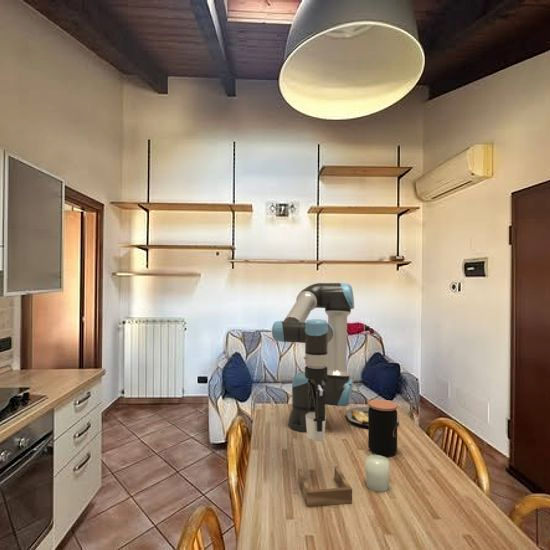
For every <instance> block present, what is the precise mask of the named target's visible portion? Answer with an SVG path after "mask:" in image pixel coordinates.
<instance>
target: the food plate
mask: <svg viewBox="0 0 550 550" xmlns="http://www.w3.org/2000/svg"><path fill="white" fill-rule="evenodd" d="M369 407H370V406H363V407H362V406H360V407H359V406H358V407H352V408H349V409H347V410H346V411H345V412H344V413H345V415H346V417H347V419H348V420H349V422H351V423H354V424H357V425H361V426H365V427H368V415H366V414H368V410H369ZM399 422H400V419H399V417H397V425H398V424H399Z"/></svg>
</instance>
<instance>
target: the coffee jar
mask: <svg viewBox="0 0 550 550" xmlns="http://www.w3.org/2000/svg"><path fill="white" fill-rule="evenodd" d="M368 407H369V410H368V413H367V417H368V426H367V427H368V431H367V432H368V433H367V435H368V437H367V441H368V449H369V451H370V452H371V453H372V454H373V455H380V456H383V457H385V458H388V457H393V456H395V455H396V453H397V452H398V424H397V418H398V404H397V403H396V402H394V401H392V400H387V399H372V400H369V401H368Z"/></svg>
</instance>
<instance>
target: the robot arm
mask: <svg viewBox="0 0 550 550" xmlns="http://www.w3.org/2000/svg"><path fill="white" fill-rule="evenodd" d="M295 300H296V301H295V303H294V304H293V306H292V308H291V309H290V310H289V311H288V313H287V315H286V316H285V317H284V319H283V320H276V321H274V322H273V324H272V326H271V327H272V328H271V334H272V335H271V336H272V339H273V340H274V341H276V342H282V343H300V344H301V343H302V344H304V346H305V347H304V349H305V350H304V355H305V356H303V359H304V365H305V366H304V372H299V373H296V374H294V375H293V377H292V385H291V390H292V391H291V392H292V393H291V399H292V400H291V402H292V404H291V405H292V407H291V410H290V413H289V416H288V420H287V424H288V427H289V428H290V429H291V430H294V431H296V432H303V433H307V428H306V414H307V413H310V412H315V419H313V421H314V440H313V441H314V442H323V441H324V438H323V421H325V415H326V406H335V407H345V408H346V407H348V406H349V404H350V403H351V399H352V395H353V393H352V392H353V388H354V386H353V385H354V380H353V379H351V378H350V374H349V373H348V372H347V350H348V349H347V346H348V345H347V342H348V341H347V339H348V335H347V334H348V317H349V315H350V314H351V312H352V311H351V310H354V309H355V298H354V292H353V288H352V285H351V284H350V283H343V282H328V283H327V282H317V283H313V284H310V285H308V286H307V287H305V288H304V289H303V288H302V290H301V291H300V292H299V293H298V294H297V296H296V299H295ZM314 309H324V312H325V314H326V315H327V320H326V319H320V318H319V319H316V318H314V319H313V318H312V319H308V317H309V315H310V313H311V311H313V310H314Z"/></svg>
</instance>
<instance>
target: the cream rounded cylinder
mask: <svg viewBox="0 0 550 550" xmlns="http://www.w3.org/2000/svg"><path fill="white" fill-rule="evenodd" d="M365 465H366V466H365V468H366V469H365V471H366V472H365V474H366V475H365V476H366V477H365V481H366V482H365V484H366V487H367V488H368V489H370V490H372V491H373V492H379V493H381V492H382V493H383V492H387V491H388V490H389V489H390V461H389V459H388V457H383V456H380V455H376V454H370V455H368V456H366V459H365Z"/></svg>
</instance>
